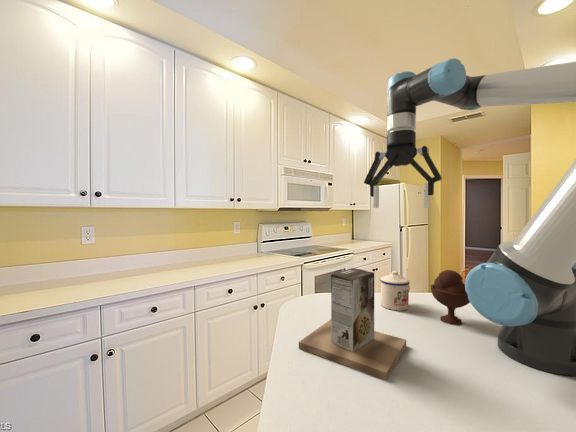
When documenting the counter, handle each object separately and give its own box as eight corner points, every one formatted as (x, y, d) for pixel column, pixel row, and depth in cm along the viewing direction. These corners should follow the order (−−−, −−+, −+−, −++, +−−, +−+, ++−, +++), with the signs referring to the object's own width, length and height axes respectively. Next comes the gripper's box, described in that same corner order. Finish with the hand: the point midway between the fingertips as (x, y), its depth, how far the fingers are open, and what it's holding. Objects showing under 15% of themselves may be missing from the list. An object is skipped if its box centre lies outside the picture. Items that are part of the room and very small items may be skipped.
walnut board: (406, 346, 65) (406, 339, 65) (386, 380, 52) (386, 372, 52) (330, 324, 76) (330, 319, 76) (298, 348, 64) (298, 341, 63)
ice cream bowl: (481, 330, 73) (482, 274, 72) (436, 327, 75) (437, 272, 75) (464, 315, 83) (465, 266, 83) (424, 312, 85) (425, 265, 85)
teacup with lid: (397, 313, 85) (397, 276, 84) (374, 304, 93) (374, 270, 92) (420, 306, 91) (421, 271, 91) (397, 298, 99) (397, 266, 98)
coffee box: (352, 330, 70) (352, 267, 69) (375, 339, 65) (375, 271, 64) (329, 342, 63) (329, 273, 63) (353, 353, 59) (353, 278, 58)
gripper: (454, 127, 72) (452, 208, 73) (362, 141, 87) (362, 208, 88) (451, 120, 66) (449, 207, 67) (353, 136, 81) (353, 207, 82)
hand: (400, 208), depth 77 cm, fingers open, 13 cm apart
